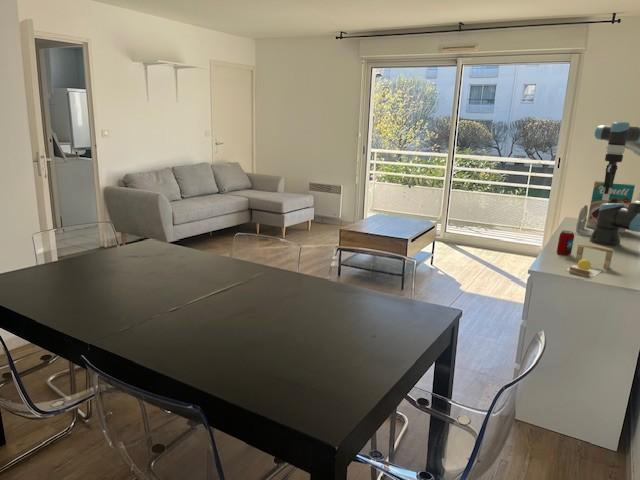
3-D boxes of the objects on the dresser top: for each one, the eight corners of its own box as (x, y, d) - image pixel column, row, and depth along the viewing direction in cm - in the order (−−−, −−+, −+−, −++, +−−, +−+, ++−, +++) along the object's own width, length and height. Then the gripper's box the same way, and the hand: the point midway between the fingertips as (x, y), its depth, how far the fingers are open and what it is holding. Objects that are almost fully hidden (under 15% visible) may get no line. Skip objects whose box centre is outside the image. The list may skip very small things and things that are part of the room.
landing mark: (573, 265, 232) (573, 264, 232) (601, 271, 225) (601, 271, 225) (565, 270, 224) (565, 269, 224) (594, 277, 216) (594, 276, 216)
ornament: (584, 228, 314) (589, 203, 309) (607, 232, 305) (612, 206, 301) (573, 233, 298) (579, 207, 293) (597, 238, 289) (603, 210, 285)
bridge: (576, 260, 240) (580, 242, 238) (609, 267, 231) (613, 249, 229) (574, 261, 238) (578, 243, 236) (607, 269, 229) (611, 250, 226)
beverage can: (570, 256, 246) (574, 234, 243) (555, 254, 250) (559, 231, 246) (571, 254, 252) (575, 231, 249) (557, 251, 255) (561, 229, 252)
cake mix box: (586, 227, 318) (594, 181, 310) (586, 225, 323) (595, 180, 315) (624, 232, 307) (634, 185, 299) (624, 230, 312) (634, 184, 304)
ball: (575, 271, 225) (579, 264, 228) (588, 274, 222) (592, 267, 225) (575, 262, 222) (580, 255, 226) (589, 265, 219) (593, 258, 222)
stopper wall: (569, 271, 222) (570, 266, 221) (589, 276, 217) (590, 270, 216) (568, 272, 221) (569, 267, 220) (588, 277, 216) (589, 271, 215)
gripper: (609, 152, 250) (600, 197, 256) (603, 153, 240) (593, 200, 246) (626, 153, 245) (616, 199, 251) (620, 154, 235) (610, 202, 242)
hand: (605, 199), depth 249 cm, fingers closed
